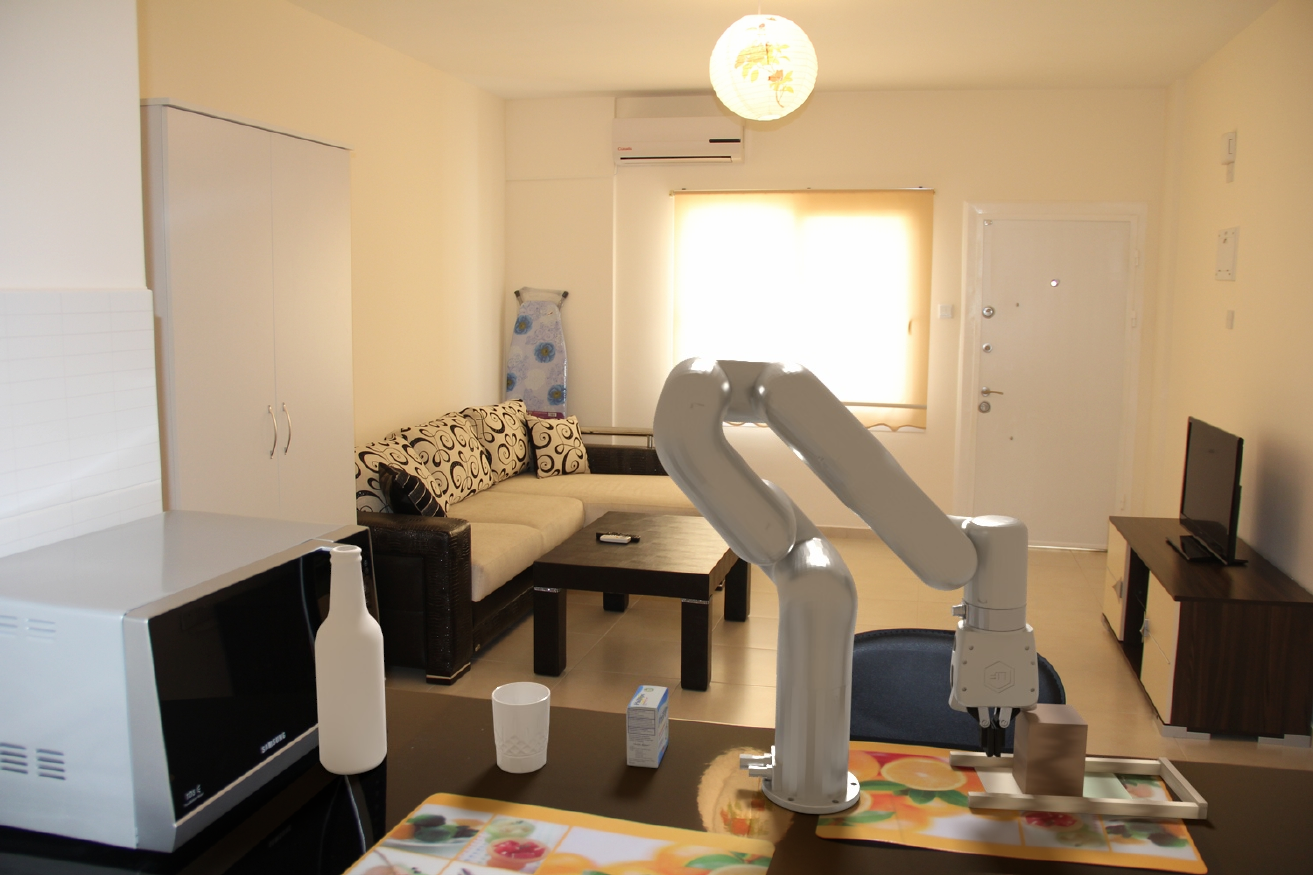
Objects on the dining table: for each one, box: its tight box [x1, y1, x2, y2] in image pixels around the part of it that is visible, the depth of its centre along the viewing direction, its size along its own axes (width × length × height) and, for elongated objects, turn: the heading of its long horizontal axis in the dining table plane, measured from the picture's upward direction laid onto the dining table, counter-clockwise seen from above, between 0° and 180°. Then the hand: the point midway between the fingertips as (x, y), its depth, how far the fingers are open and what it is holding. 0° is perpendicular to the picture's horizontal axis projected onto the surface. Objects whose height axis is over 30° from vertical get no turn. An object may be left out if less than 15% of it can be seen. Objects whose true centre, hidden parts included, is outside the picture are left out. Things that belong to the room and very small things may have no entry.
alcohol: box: [314, 544, 388, 775], centre depth 134 cm, size 9×9×30 cm
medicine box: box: [625, 684, 669, 769], centre depth 138 cm, size 8×4×9 cm, turn 168°
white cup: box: [491, 681, 551, 774], centre depth 135 cm, size 8×8×10 cm
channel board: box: [948, 750, 1209, 820], centre depth 127 cm, size 28×12×4 cm, turn 85°
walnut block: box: [1012, 702, 1089, 797], centre depth 126 cm, size 7×6×10 cm
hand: (991, 752), depth 127 cm, fingers closed
